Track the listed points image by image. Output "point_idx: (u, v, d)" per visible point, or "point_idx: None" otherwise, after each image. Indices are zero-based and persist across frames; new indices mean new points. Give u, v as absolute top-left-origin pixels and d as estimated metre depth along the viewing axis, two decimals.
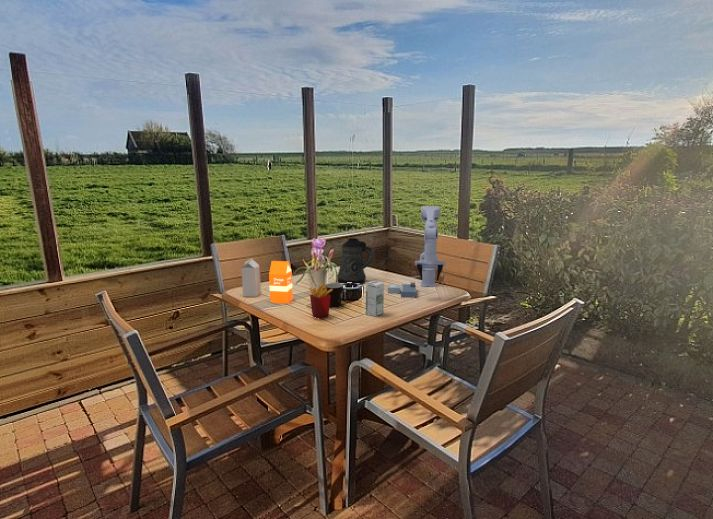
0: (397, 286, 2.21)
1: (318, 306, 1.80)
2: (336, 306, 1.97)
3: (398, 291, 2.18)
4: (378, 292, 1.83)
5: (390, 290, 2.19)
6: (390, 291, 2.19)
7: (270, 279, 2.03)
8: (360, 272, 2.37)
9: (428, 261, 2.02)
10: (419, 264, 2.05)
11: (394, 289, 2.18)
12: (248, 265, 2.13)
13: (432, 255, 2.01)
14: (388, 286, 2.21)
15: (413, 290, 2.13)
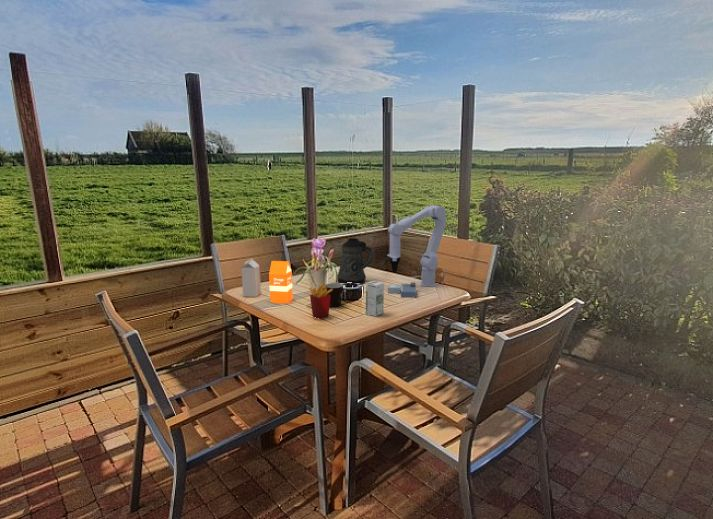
0: (397, 286, 2.21)
1: (318, 306, 1.80)
2: (336, 306, 1.97)
3: (398, 291, 2.18)
4: (378, 292, 1.83)
5: (390, 290, 2.19)
6: (390, 291, 2.19)
7: (270, 279, 2.03)
8: (360, 272, 2.37)
9: None
10: None
11: (394, 289, 2.18)
12: (248, 265, 2.13)
13: None
14: (388, 286, 2.21)
15: (413, 290, 2.13)
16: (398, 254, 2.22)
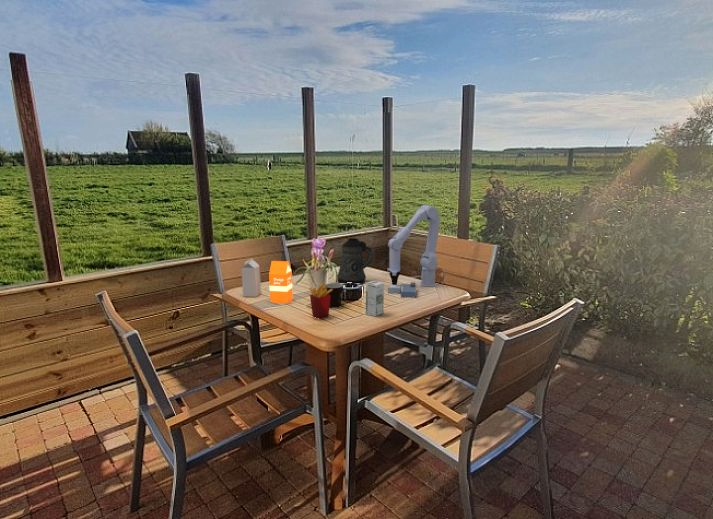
0: (397, 286, 2.21)
1: (318, 306, 1.80)
2: (336, 306, 1.97)
3: (398, 291, 2.18)
4: (378, 292, 1.83)
5: (390, 290, 2.19)
6: (390, 291, 2.19)
7: (270, 279, 2.03)
8: (360, 272, 2.37)
9: None
10: None
11: (394, 289, 2.18)
12: (248, 265, 2.13)
13: (389, 262, 2.25)
14: (388, 286, 2.21)
15: (413, 290, 2.13)
16: (398, 268, 2.24)
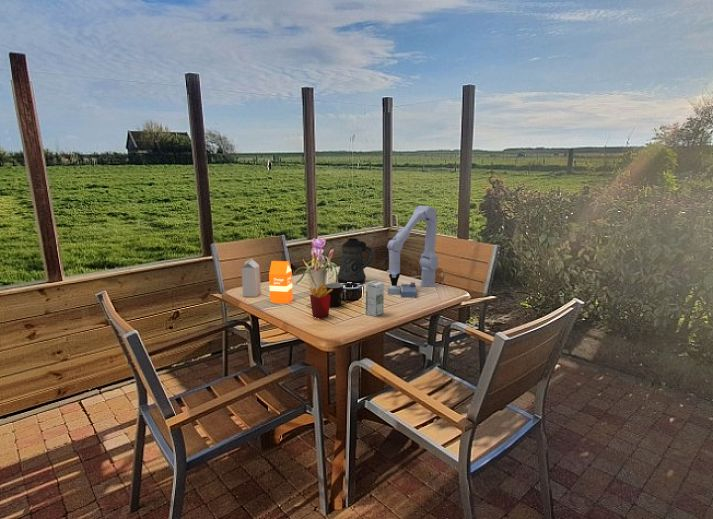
0: (397, 287, 2.19)
1: (318, 306, 1.80)
2: (336, 306, 1.97)
3: (398, 292, 2.17)
4: (378, 292, 1.83)
5: (390, 291, 2.17)
6: (390, 292, 2.17)
7: (270, 279, 2.03)
8: (360, 272, 2.37)
9: None
10: None
11: (394, 290, 2.17)
12: (248, 265, 2.13)
13: (389, 264, 2.21)
14: (388, 287, 2.19)
15: (413, 290, 2.13)
16: (398, 270, 2.20)
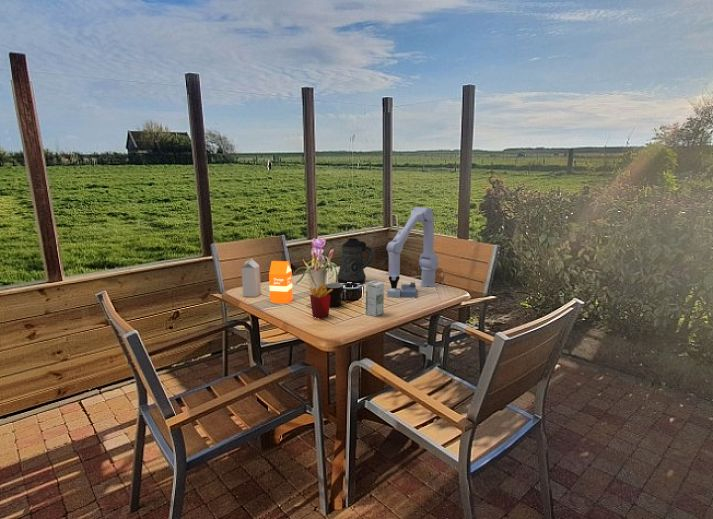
0: (397, 290, 2.14)
1: (318, 306, 1.80)
2: (336, 306, 1.97)
3: (398, 295, 2.12)
4: (378, 292, 1.83)
5: (390, 294, 2.12)
6: (390, 295, 2.12)
7: (270, 279, 2.03)
8: (360, 272, 2.37)
9: None
10: None
11: (394, 293, 2.12)
12: (248, 265, 2.13)
13: (389, 266, 2.15)
14: (387, 290, 2.14)
15: (413, 290, 2.13)
16: (397, 273, 2.15)
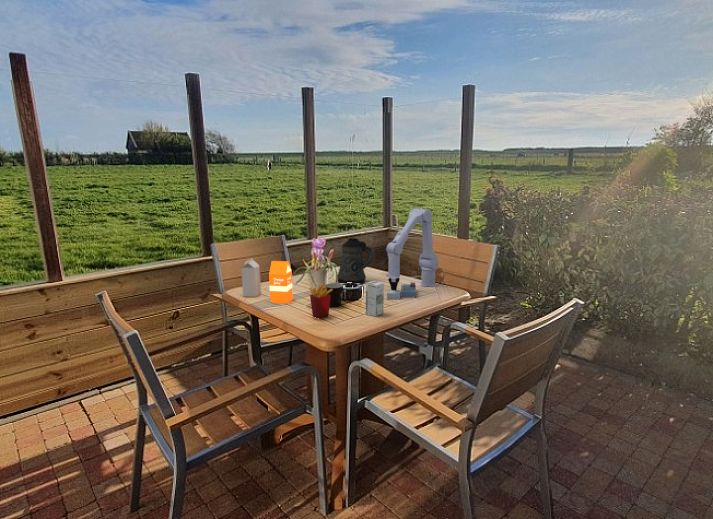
0: (397, 291, 2.11)
1: (318, 306, 1.80)
2: (336, 306, 1.97)
3: (398, 297, 2.08)
4: (378, 292, 1.83)
5: (390, 295, 2.09)
6: (389, 297, 2.09)
7: (270, 279, 2.03)
8: (360, 272, 2.37)
9: None
10: None
11: (393, 295, 2.08)
12: (248, 265, 2.13)
13: (388, 268, 2.12)
14: (387, 291, 2.11)
15: (413, 290, 2.13)
16: (397, 274, 2.11)
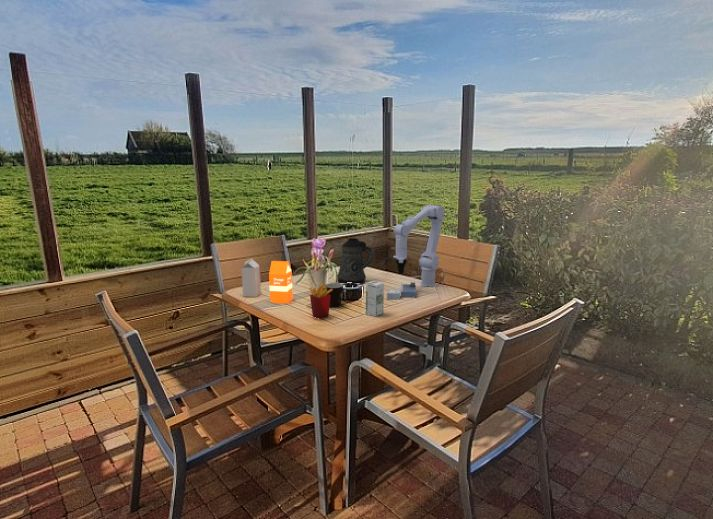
0: (397, 291, 2.11)
1: (318, 306, 1.80)
2: (336, 306, 1.97)
3: (398, 297, 2.08)
4: (378, 292, 1.83)
5: (390, 295, 2.09)
6: (389, 297, 2.09)
7: (270, 279, 2.03)
8: (360, 272, 2.37)
9: None
10: None
11: (393, 295, 2.08)
12: (248, 265, 2.13)
13: (396, 249, 2.16)
14: (387, 291, 2.11)
15: (413, 290, 2.13)
16: (404, 255, 2.15)
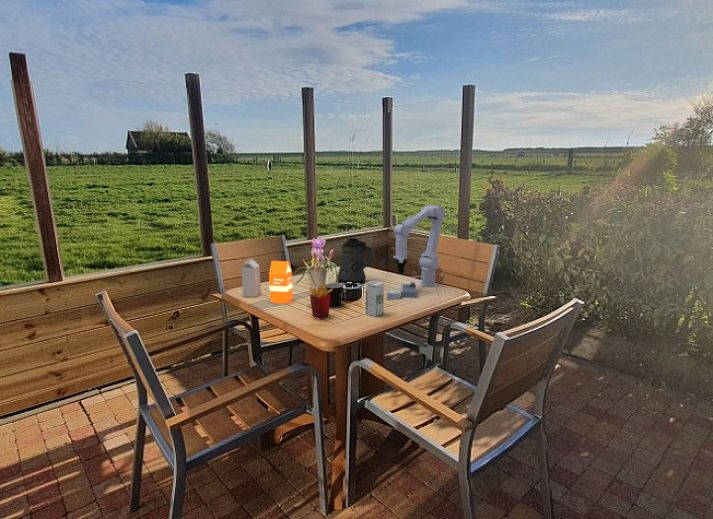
0: (397, 291, 2.11)
1: (318, 306, 1.80)
2: (336, 306, 1.97)
3: (398, 297, 2.08)
4: (378, 292, 1.83)
5: (390, 295, 2.09)
6: (389, 297, 2.09)
7: (270, 279, 2.03)
8: (360, 272, 2.37)
9: None
10: None
11: (393, 295, 2.08)
12: (248, 265, 2.13)
13: (396, 249, 2.16)
14: (387, 291, 2.11)
15: (413, 290, 2.13)
16: (404, 255, 2.15)
